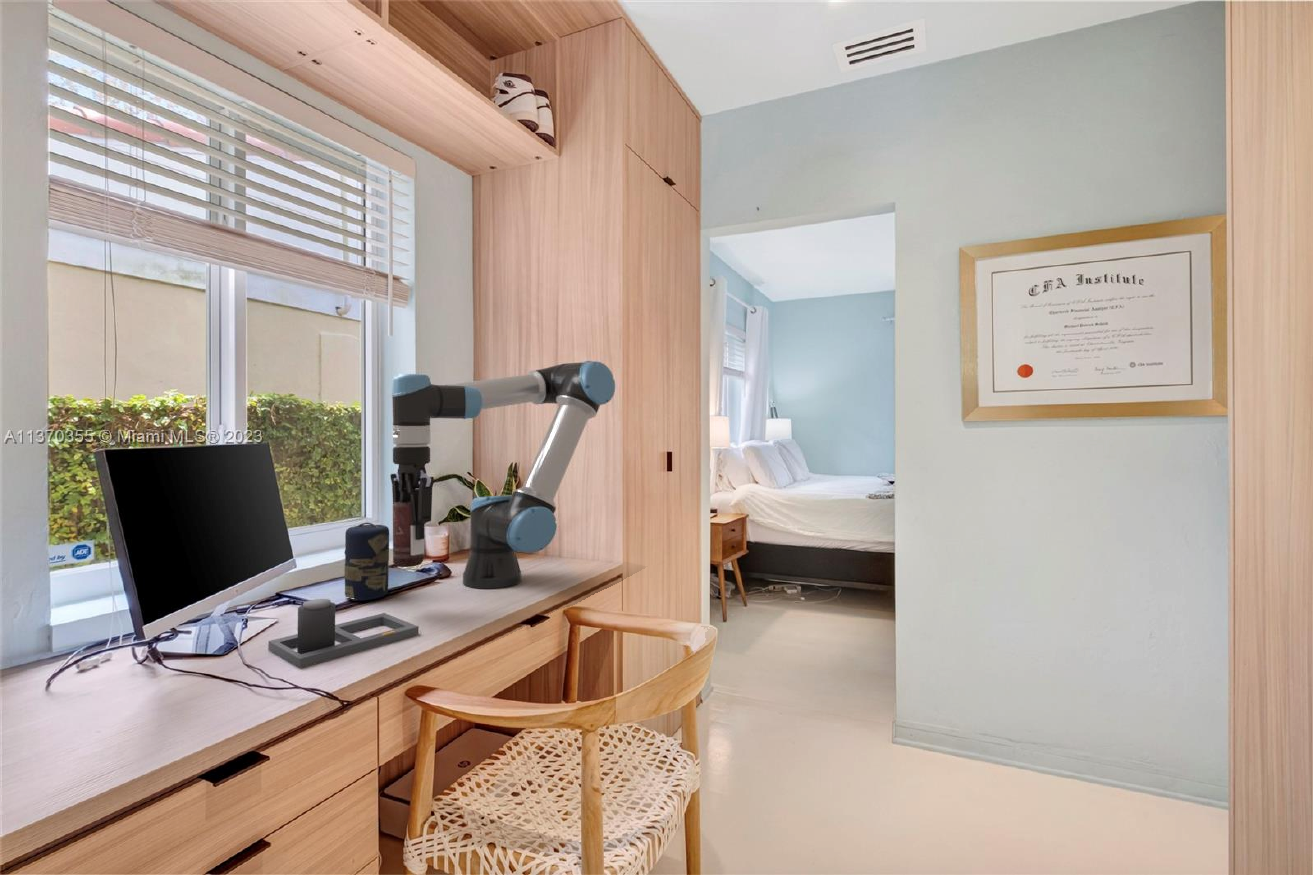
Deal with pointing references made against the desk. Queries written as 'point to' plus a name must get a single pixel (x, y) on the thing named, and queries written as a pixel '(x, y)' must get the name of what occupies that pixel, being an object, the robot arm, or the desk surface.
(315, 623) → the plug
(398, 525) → the can
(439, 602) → the desk surface
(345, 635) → the desk organizer tray
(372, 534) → the canister
